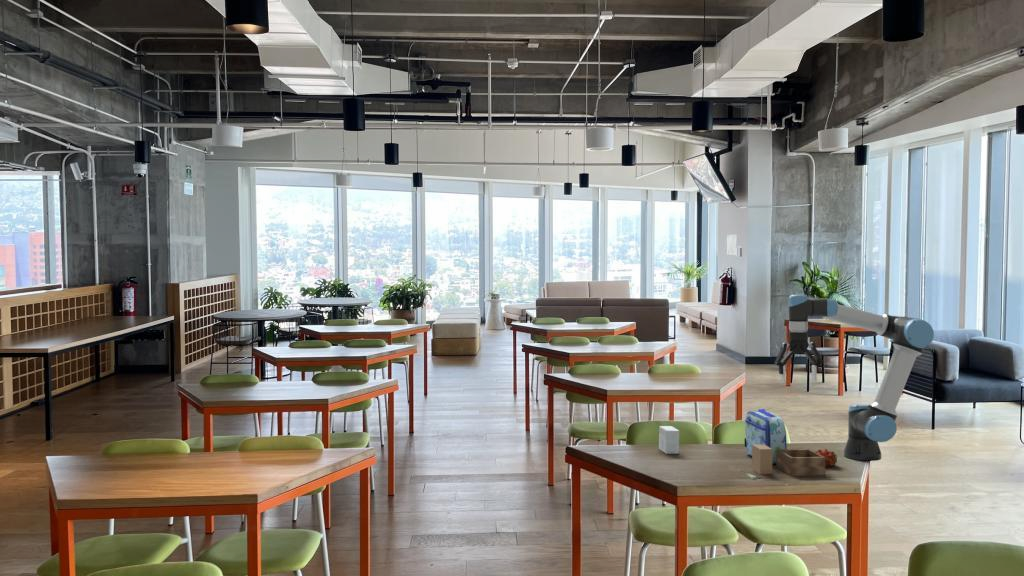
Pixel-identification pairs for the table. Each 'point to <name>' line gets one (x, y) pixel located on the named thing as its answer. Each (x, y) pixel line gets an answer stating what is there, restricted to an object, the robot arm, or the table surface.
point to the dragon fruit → (828, 457)
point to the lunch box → (765, 431)
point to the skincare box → (669, 439)
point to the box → (800, 462)
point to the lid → (761, 460)
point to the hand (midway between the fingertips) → (798, 381)
